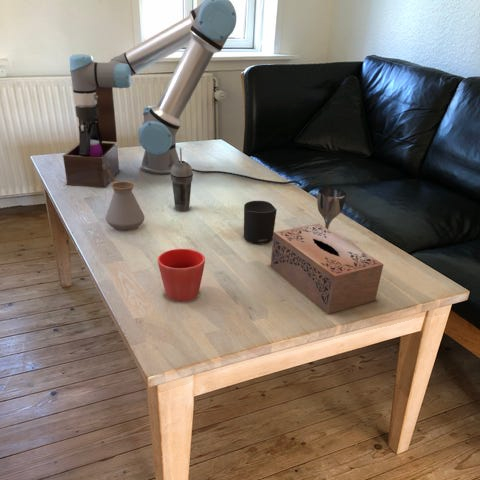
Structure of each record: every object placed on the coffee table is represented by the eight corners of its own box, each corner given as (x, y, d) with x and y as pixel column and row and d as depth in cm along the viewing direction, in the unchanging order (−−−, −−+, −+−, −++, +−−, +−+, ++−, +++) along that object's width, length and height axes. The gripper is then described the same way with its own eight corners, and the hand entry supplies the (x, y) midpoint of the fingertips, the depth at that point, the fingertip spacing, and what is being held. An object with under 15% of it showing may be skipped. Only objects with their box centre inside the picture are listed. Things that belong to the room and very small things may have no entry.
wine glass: (340, 237, 156) (348, 190, 147) (335, 248, 149) (343, 198, 141) (314, 233, 158) (321, 185, 149) (309, 243, 151) (315, 194, 143)
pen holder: (237, 241, 150) (239, 209, 145) (249, 229, 157) (251, 198, 152) (267, 247, 147) (270, 215, 142) (278, 235, 155) (281, 204, 149)
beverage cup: (195, 205, 172) (195, 144, 161) (191, 213, 166) (190, 151, 155) (173, 203, 172) (172, 143, 161) (169, 211, 166) (167, 149, 155)
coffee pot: (150, 230, 154) (148, 181, 145) (113, 237, 149) (108, 186, 140) (126, 206, 169) (122, 160, 160) (91, 211, 164) (86, 164, 155)
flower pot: (160, 283, 128) (158, 247, 122) (204, 283, 129) (204, 248, 124) (158, 305, 119) (156, 268, 114) (205, 305, 120) (205, 268, 115)
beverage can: (79, 174, 190) (75, 141, 183) (97, 170, 194) (94, 138, 188) (89, 179, 185) (85, 146, 179) (108, 175, 190) (105, 142, 183)
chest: (104, 187, 182) (101, 158, 176) (67, 184, 183) (62, 155, 177) (119, 170, 198) (117, 143, 192) (84, 168, 199) (81, 140, 193)
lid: (111, 83, 180) (116, 80, 186) (73, 81, 181) (80, 77, 187) (116, 142, 192) (121, 137, 198) (80, 139, 192) (86, 134, 198)
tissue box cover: (375, 300, 126) (383, 264, 120) (328, 313, 120) (334, 276, 114) (314, 256, 144) (318, 223, 139) (270, 266, 138) (273, 232, 133)
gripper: (86, 113, 166) (94, 179, 179) (106, 99, 186) (112, 160, 198) (63, 111, 167) (73, 178, 179) (86, 98, 186) (93, 158, 198)
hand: (93, 168), depth 189 cm, fingers open, 11 cm apart
